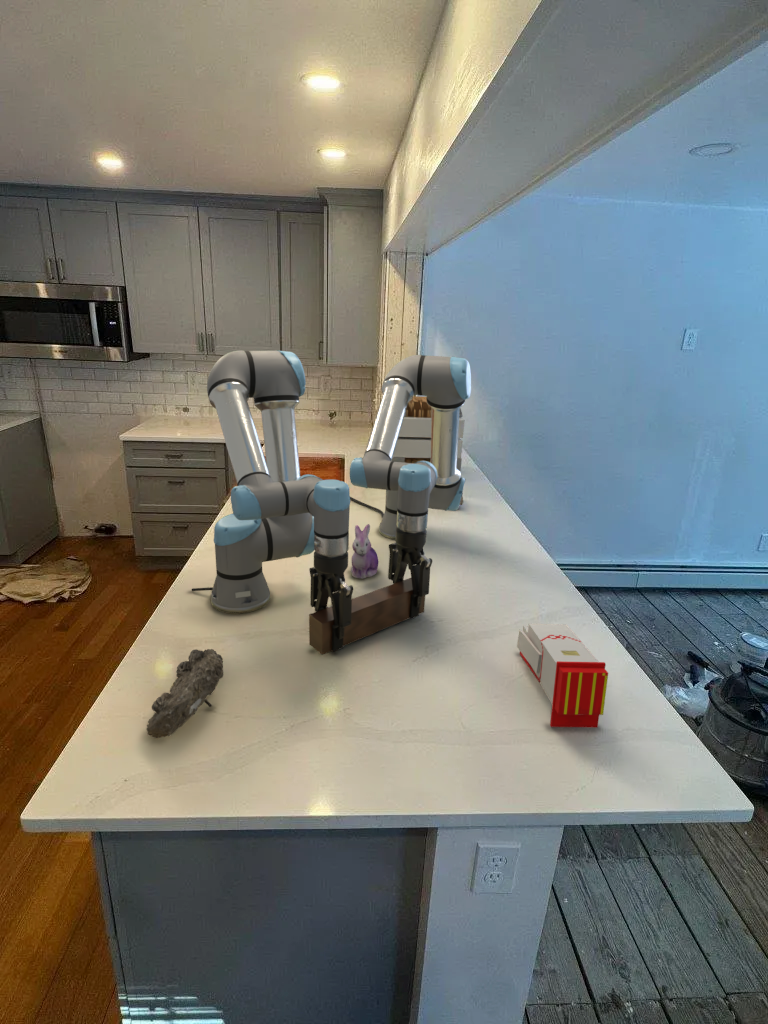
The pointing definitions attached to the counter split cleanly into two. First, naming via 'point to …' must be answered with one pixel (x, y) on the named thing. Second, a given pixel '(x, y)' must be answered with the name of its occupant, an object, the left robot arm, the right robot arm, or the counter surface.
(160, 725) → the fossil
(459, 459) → the transformer
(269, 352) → the left robot arm
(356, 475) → the right robot arm
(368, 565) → the figurine
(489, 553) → the counter surface
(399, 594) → the plank
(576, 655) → the toy
